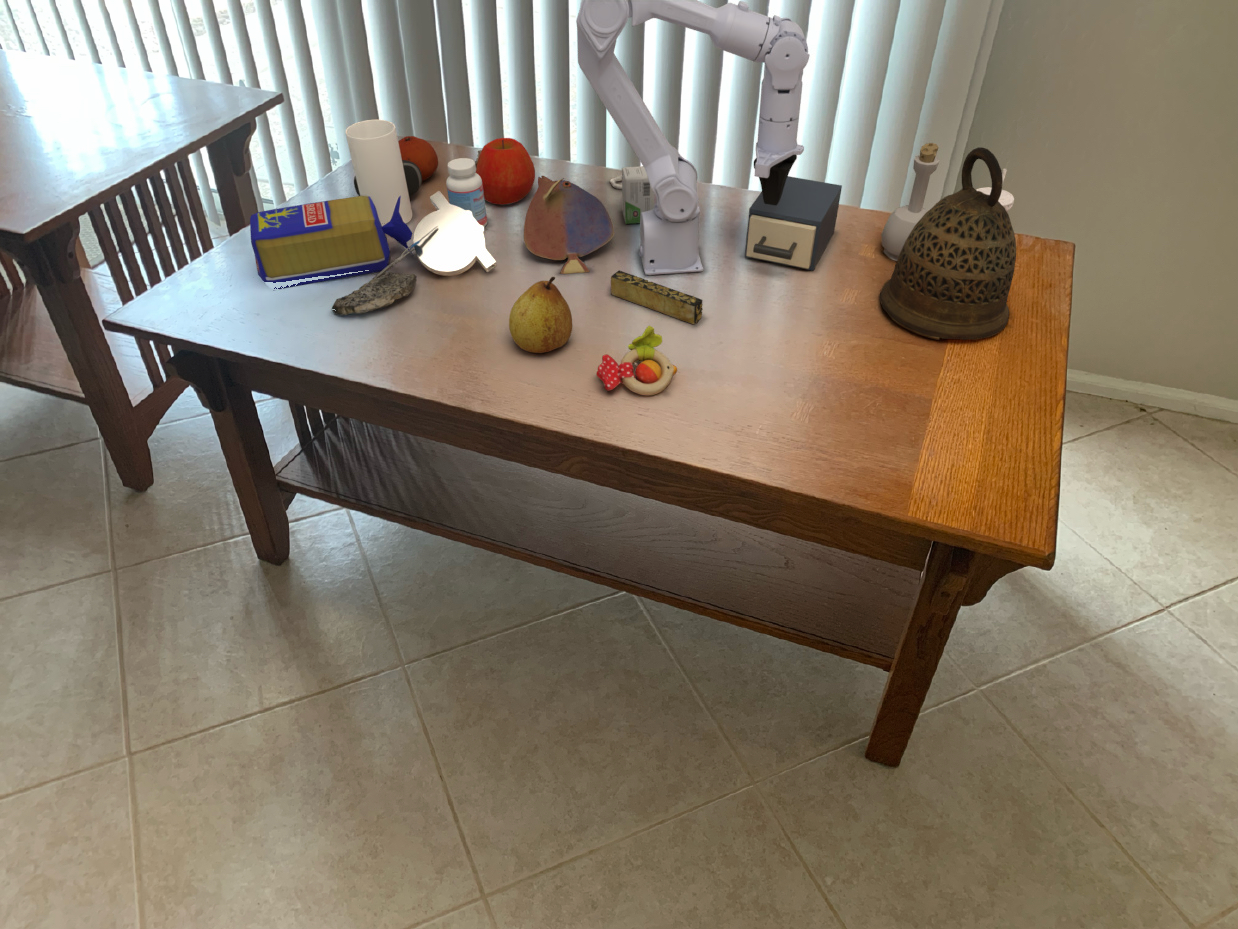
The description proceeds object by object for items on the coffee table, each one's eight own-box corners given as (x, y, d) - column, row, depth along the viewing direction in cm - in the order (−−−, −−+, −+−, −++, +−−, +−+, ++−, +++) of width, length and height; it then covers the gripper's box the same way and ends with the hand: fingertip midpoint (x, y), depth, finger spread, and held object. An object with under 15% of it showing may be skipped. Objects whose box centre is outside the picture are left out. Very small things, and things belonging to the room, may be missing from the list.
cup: (422, 213, 155) (405, 125, 144) (390, 233, 150) (370, 142, 139) (388, 203, 158) (370, 115, 147) (356, 221, 153) (334, 132, 142)
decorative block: (702, 318, 129) (703, 298, 127) (694, 326, 128) (695, 305, 125) (619, 288, 136) (618, 268, 133) (610, 294, 134) (609, 275, 132)
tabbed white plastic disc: (508, 253, 138) (453, 280, 133) (496, 280, 145) (443, 307, 139) (452, 182, 139) (395, 206, 134) (442, 212, 146) (388, 237, 140)
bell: (973, 388, 129) (1024, 285, 134) (1030, 294, 105) (1088, 173, 110) (856, 339, 134) (909, 242, 139) (885, 238, 110) (947, 126, 115)
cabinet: (813, 270, 138) (821, 221, 133) (744, 256, 142) (749, 208, 136) (834, 232, 147) (842, 185, 141) (768, 220, 151) (774, 173, 145)
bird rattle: (694, 349, 116) (642, 312, 118) (645, 393, 110) (591, 354, 112) (683, 379, 121) (633, 343, 123) (635, 423, 115) (584, 384, 117)
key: (605, 182, 161) (614, 173, 164) (605, 187, 161) (614, 178, 164) (666, 192, 157) (673, 183, 160) (666, 197, 158) (673, 187, 161)
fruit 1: (387, 188, 163) (378, 146, 157) (403, 167, 169) (395, 127, 164) (431, 190, 162) (424, 149, 156) (446, 170, 168) (439, 129, 162)
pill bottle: (486, 232, 149) (477, 170, 142) (451, 233, 149) (440, 171, 142) (489, 216, 154) (481, 155, 146) (455, 217, 154) (445, 156, 146)
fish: (514, 152, 139) (606, 145, 140) (520, 200, 151) (604, 193, 152) (525, 256, 133) (621, 247, 134) (530, 297, 144) (618, 289, 146)
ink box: (622, 212, 154) (686, 207, 155) (625, 225, 151) (691, 220, 151) (621, 166, 148) (688, 161, 149) (624, 178, 145) (693, 174, 146)
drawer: (801, 282, 134) (806, 242, 130) (737, 268, 138) (741, 229, 133) (828, 233, 145) (834, 195, 141) (768, 222, 149) (773, 184, 144)
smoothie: (999, 262, 139) (1026, 180, 130) (958, 258, 140) (981, 176, 131) (995, 242, 144) (1020, 162, 134) (955, 239, 145) (977, 159, 135)
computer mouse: (348, 167, 155) (348, 175, 152) (415, 153, 156) (417, 160, 153) (361, 205, 159) (361, 212, 156) (426, 190, 161) (427, 198, 157)
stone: (325, 302, 131) (332, 318, 133) (360, 314, 126) (367, 331, 128) (392, 256, 138) (398, 272, 140) (427, 266, 133) (433, 282, 135)
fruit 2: (502, 338, 126) (492, 267, 117) (557, 319, 129) (551, 249, 121) (527, 370, 121) (519, 298, 112) (584, 349, 124) (580, 278, 115)
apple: (534, 210, 155) (529, 152, 148) (474, 210, 155) (466, 153, 148) (539, 183, 163) (534, 127, 155) (482, 183, 163) (474, 128, 156)
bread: (262, 265, 143) (241, 207, 135) (411, 239, 148) (399, 182, 141) (263, 297, 136) (242, 238, 128) (420, 269, 141) (408, 211, 134)
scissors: (382, 275, 130) (378, 271, 129) (362, 293, 136) (358, 289, 136) (440, 228, 137) (436, 223, 137) (418, 247, 144) (415, 243, 143)
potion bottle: (941, 251, 142) (970, 144, 130) (914, 272, 138) (941, 163, 125) (894, 233, 147) (918, 129, 134) (866, 253, 142) (888, 147, 130)
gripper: (792, 137, 118) (783, 228, 128) (819, 99, 128) (809, 186, 137) (743, 131, 121) (737, 220, 130) (773, 94, 130) (766, 180, 139)
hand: (771, 202), depth 134 cm, fingers closed
